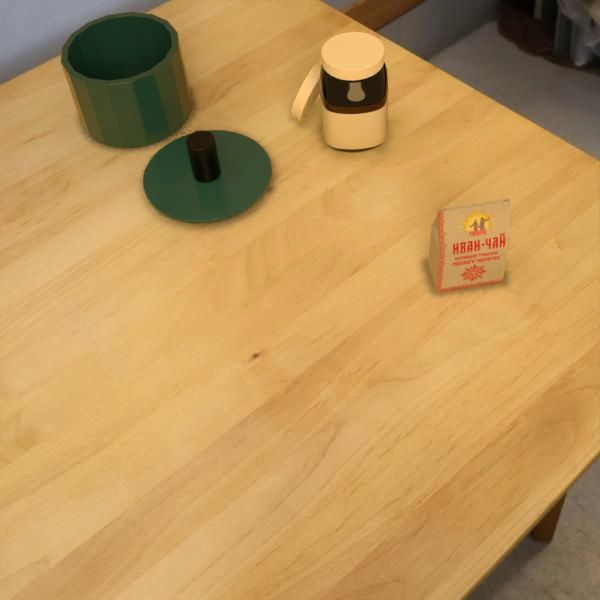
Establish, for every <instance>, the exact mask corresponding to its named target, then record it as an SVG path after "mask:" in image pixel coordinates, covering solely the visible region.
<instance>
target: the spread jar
mask: <svg viewBox="0 0 600 600" xmlns="http://www.w3.org/2000/svg"><path fill="white" fill-rule="evenodd" d="M385 52H386V51H385V46H384V44H383V42H382V41H381V39H379V38H378V37H376V36H375V35H372V34H370V33H367V32H362V31H348V32H347V31H346V32H343V33H339V34H336V35H334V36H332V37H330V38H329V39H328V40H326V41H325V43H324V44H323V45H322V47H321V52H320V53H321V63H320V64H319V63H316V64H315V65H313V67H312V68H311V69H310V71H309V72H308V73H307V76H306V77H305V79H304V81H303V82H302V84H301V86H300V88H299V90H298V92H297V95H296V96H295V99H294V101H293V104H292V107H291V109H290V117H292V118H294V119H295V120H297V121H299V122H303V121H304V120H305V119H306V118H307V116H308V115H309V113H310V112H311V110H312V109H313V107H314V105H315V103H316V101H317V100H318V97H319V99H320V100H319V101H320V120H321V129H322V136H323V140H324V142H325V144H326V145H327V146H328V148H330V149H332V150H334V151H337V152H342V153H350V154H352V153H353V154H354V153H356V154H357V153H364V152H368V151H369V152H370V151H372V150H374V149H377V148H379V147H380V146H382V145H383V144H384V142H385V141H386V138H387V134H388V133H387V132H388V123H389V122H388V121H389V120H388V118H389V117H388V113H389V110H388V109H389V76H388V67H387V65H386V62H385Z"/></svg>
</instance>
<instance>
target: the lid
mask: <svg viewBox="0 0 600 600" xmlns="http://www.w3.org/2000/svg"><path fill="white" fill-rule="evenodd" d="M272 169H273V168H272V162H271V158H270V156H269V154H268V152H267V151H266V150H265V148H264V147H263V146H262V145H261V144H260V143H259V142H257V140H254V139H253V138H251V137H249V136H247V135H245V134H242V133H239V132H236V131H231V130H223V129H209V130H203V129H201V130H196V131H195V130H194V131H192V132H191V133H188V134H185V135H182V136H180V137H178V138H176V139H173V140H171V141H170V142H168V143H166V144H165V145H164V146H163V147H161V148H160V149H159V150H158V151H157V152H155V154H154V155H153V156H152V157H151V158H150V160H149V161H148V163H147V164H146V167H145V169H144V172H143V177H142V186H143V191H144V194H145V198H146V199H147V201H148V203H149V204H150V205H151V207H152V208H154V209H155V210H156V211H157V212H158V213H160V214H161V215H163V216H164V217H166V218H168V219H170V220H174V221H177V222H180V223H181V222H182V223H186V224H195V225H196V224H199V225H200V224H201V225H202V224H203V225H204V224H213V223H219V222H222V221H226V220H230V219H232V218H234V217H237V216H239V215H241V214H243V213H245V212H247V211H248V210H250V209H251V208H252V207H253V206H255V205H256V204H257V203H258V202H259V201H260V200H261V198H263V196H264V195H265V193H266V192H267V191H268V189H269V186H270V184H271V181H272V176H273V175H272V174H273V170H272Z"/></svg>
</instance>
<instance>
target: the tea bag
mask: <svg viewBox="0 0 600 600" xmlns="http://www.w3.org/2000/svg"><path fill="white" fill-rule="evenodd" d="M511 202H512V201H511V200H510V198H503V199H497V200H490V201H483V202H476V203H469V204H464V205H456V206H450V207H443V208H438V209H437V212H436V214H435V217H434V219H433V221H432V224H430V225H431V226H430V237H429V250H428V261H427V265H428V269H429V271H430V275H431V278H432V281H433V286H434V288H435V291H436V293H440V292H445V291H453V290H459V289H466V288H473V287H479V286H480V287H481V286H484V285H485V286H486V285H493V284H497V283H498V284H499V283H503V282H504V276H505V272H506V266H507V262H508V261H507V260H508V255H509V250H510V245H511Z"/></svg>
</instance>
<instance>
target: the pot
mask: <svg viewBox="0 0 600 600" xmlns="http://www.w3.org/2000/svg"><path fill="white" fill-rule="evenodd" d="M179 37H180V36H179V33H178V31H177V30H176V28H175V27H174V26H173V25H172V24H171V22H169V20H167V19H165V18H163V17H160V16H157V15H155V14H153V13H148V12H147V13H146V12H136V11H127V12H119V13H113V14H107V15H103V16H101V17H99V18H96V19H93V20H91V21H88V22H86V23H85V24H83V25H82V26H81V27H79V28H78V29H76V30H75V31H74V32H72V33H71V34H70V35H69V36H68V38H67V39H66V41H65V42H64V44H63V45H62V47H61V51H60V52H61V55H60V64H61V68H62V70H63V72H64V76H65V79H66V82H67V84H68V87H69V90H70V93H71V96H72V98H73V101H74V105H75V107H76V111H77V113H78V115H79V119H80V121H81V123H82V125H83V127H84V129H85V132H87V134H88V135H89V137H91V138H92V139H93V140H94V141H96V142H98V143H99V144H101V145H105V146H108V147H112V148H117V149H136V148H143V147H147V146H152V145H154V144H156V143H160V142H162V141H164V140H166V139H168V138H169V137H171V136H173V135H174V134H176V133H177V132H178V131H179V130H180V129H181V128H182V127H183V126H184V125H185V124H186V122H187V121H188V119H189V117H190V115H191V111H192V109H193V108H192V107H193V105H192V104H193V102H192V97H191V90H190V85H189V81H188V75H187V70H186V65H185V61H184V57H183V52H182V47H181V41H180V38H179Z"/></svg>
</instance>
